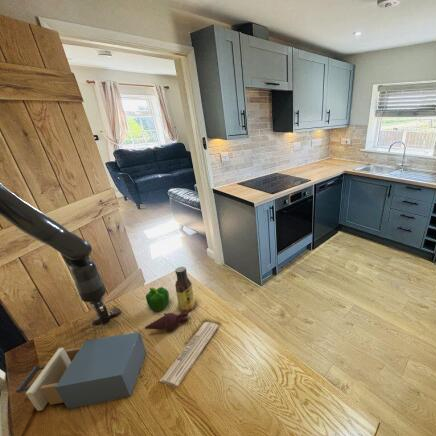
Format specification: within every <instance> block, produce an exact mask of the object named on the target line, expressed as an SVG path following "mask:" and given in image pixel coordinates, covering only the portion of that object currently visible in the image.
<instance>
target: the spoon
mask: <svg viewBox="0 0 436 436" xmlns="http://www.w3.org/2000/svg"><path fill="white" fill-rule="evenodd" d="M107 312H108V311H107ZM108 314H109V316H108V319H111V318H116V317H119V316H120V315H121V314H122V310H121V308H113V310H111V311H109V312H108ZM91 324H92V325H93V326H97V325H98V324H102V322H101V319H100V318H99V317H98V316H97V318H94V319H93V320H91Z"/></svg>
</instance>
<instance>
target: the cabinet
mask: <svg viewBox="0 0 436 436" xmlns="http://www.w3.org/2000/svg"><path fill="white" fill-rule="evenodd" d="M80 347H81V348H80ZM80 347H79V348H80V350H79V351H78V353H77V354H76V356H75V357H74V359H73V360H72V362H71V363H70V365H69V367H68V368H67V370H66V371H65V373H64V374H63V376H62V377H61V379H60V380H59V382H58V383H57V385H56V387H55V388H56V390H57V392H58V393H59V395H60V397H61V398H62V400H63V402H62V403H64V405H65V407H66V408H67V410H70V409H76V408H80V407H85V406H90V405H95V404H100V403H104V402H110V401H113V400H114V401H115V400H118V399H119V400H120V399H123V398H128V397H131V395H132V393H133V390H134V387H135V384H136V381H137V379H138V375H139V373H140V370H141V367H142V365H143V362H144V360H145V357H146V354H147V350H146V347H145V343H144V340H143V338H142V335H141V332H140V331H135V332H131V333H130V332H129V333H124V334H118V335H117V334H116V335H111V336H104V337H98V338H92V339H85V341H84V342H83V343H82V344H81V346H80Z"/></svg>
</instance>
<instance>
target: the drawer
mask: <svg viewBox="0 0 436 436" xmlns="http://www.w3.org/2000/svg"><path fill="white" fill-rule="evenodd" d="M81 347H82V346H79V347H74V348H69V349H68V348H67V349H65V348H64V347H58V348H57V350H56V351H55V353H54V354H53V355H52V357H51V358H50V360H49V361H48V362H47V364H45V365H43V366H40V365H36V366H34V367H33V368H32V370H31V371H30V372H29V374H27V376H26V377H25V378H24V379H23V381H22V382H21V384H20V385H19V386H18V387H17V389H16V390H15V392H16V393H17V394H22V392H24V391H26V392H25V395H26V396H27V398H28V399H29V401H30V402H31V404H32V405H33V406H34V409H35V410H36V411H37V412H40V411H44V409H45V407H46V406H47V404H49V406H52V405H57V404H61V403H64V402H63V400H62V398H61V397H60V395H59V393H58V392H57V390H56V388H55V387H56V385H57V383H58V382H59V380H60V379H61V377H62V376H63V374H64V373H65V371H66V370H67V368H68V367H69V365H70V363H71V362H72V360H73V359H74V357H75V356H76V354H77V353H78V351H79V350H80V348H81ZM39 371H40V373H39V374H38V376H37V377H36V378H35V380H34V381H33V383H32V384H31V385H30V386H28V385H29V384H30V382H31V381H32V380H33V378H34V377H35V376H36V375H37V373H38V372H39Z"/></svg>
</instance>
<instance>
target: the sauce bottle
mask: <svg viewBox="0 0 436 436" xmlns="http://www.w3.org/2000/svg"><path fill="white" fill-rule="evenodd" d="M187 271H188V270H187V268H186V266H178V267H176V268H175V270H174V272H175V275H176V281H175V285H174V286H175V292H176V297H177V303H178V308H179V310H180V312H181V313H182V312H187V313H189V312H191V311H193V310H194V308H195V307H196V305H195V303H196V301H195V295H194V290H193V283H192V282H191V280H190V279H189V277H188V275H187Z"/></svg>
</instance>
